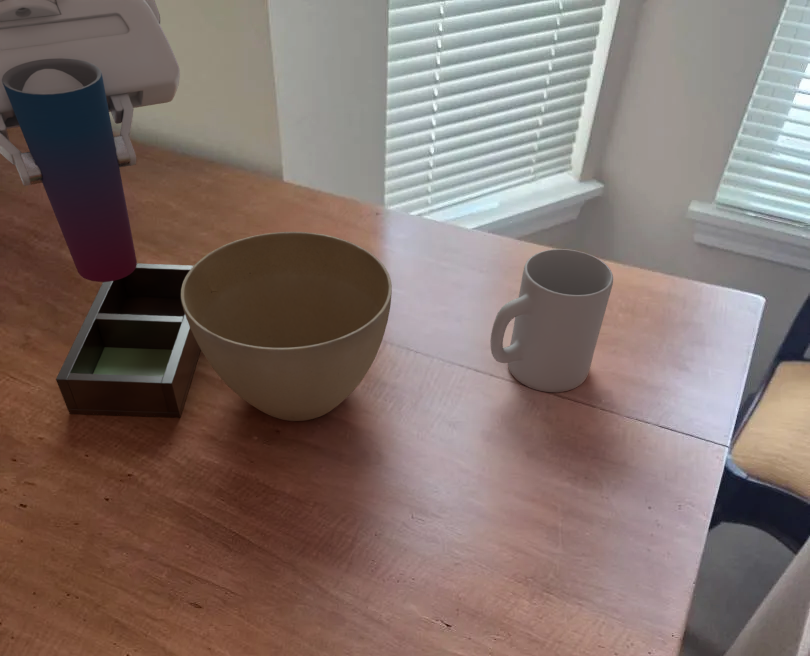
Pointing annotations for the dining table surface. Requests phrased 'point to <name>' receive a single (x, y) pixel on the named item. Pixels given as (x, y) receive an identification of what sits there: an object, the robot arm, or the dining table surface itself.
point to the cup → (77, 165)
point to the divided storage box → (133, 348)
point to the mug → (554, 320)
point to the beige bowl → (289, 319)
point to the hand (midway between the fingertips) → (80, 172)
